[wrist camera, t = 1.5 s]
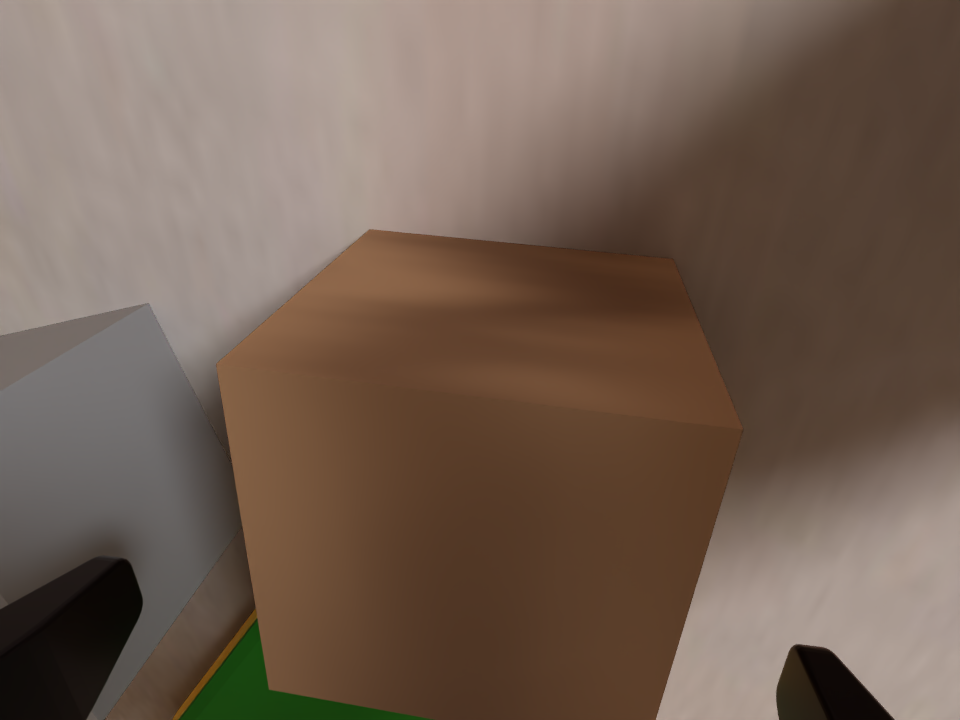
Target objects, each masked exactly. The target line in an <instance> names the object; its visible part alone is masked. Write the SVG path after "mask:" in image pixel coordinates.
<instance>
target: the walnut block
mask: <svg viewBox="0 0 960 720" xmlns="http://www.w3.org/2000/svg"><path fill="white" fill-rule="evenodd" d="M216 367H217V374H218V380H219V386H220V392H221V398H222V404H223V410H224V416H225V423H226V429H227V435H228V441H229V447H230V453H231V459H232V465H233V472H234V478H235V484H236V490H237V496H238V502H239V508H240V515H241V521H242V527H243V533H244V539H245V545H246V551H247V557H248V564H249V570H250V576H251V582H252V588H253V594H254V600H255V606H256V613H257V619H258V625H259V631H260V637H261V643H262V649H263V656H264V662H265V668H266V674H267V680H268V686H269V690H274V691H280V692H285V693H291V694H297V695H302V696H308V697H313V698H319V699H324V700H330V701H335V702H341V703H346V704H352V705H357V706H363V707H368V708H374V709H379V710H385V711H390V712H396V713H401V714H407V715H412V716H418V717H423V718H429V719H434V720H656V717H657V713H658V710H659V707H660V703H661V700H662V697H663V693H664V690H665V687H666V684H667V680H668V677H669V674H670V670H671V667H672V664H673V660H674V657H675V654H676V651H677V647H678V644H679V641H680V637H681V634H682V631H683V627H684V624H685V621H686V617H687V614H688V611H689V608H690V604H691V601H692V598H693V594H694V591H695V588H696V584H697V581H698V578H699V575H700V571H701V568H702V565H703V561H704V558H705V555H706V551H707V548H708V545H709V541H710V538H711V535H712V532H713V528H714V525H715V522H716V518H717V515H718V512H719V508H720V505H721V502H722V499H723V495H724V492H725V489H726V485H727V482H728V479H729V475H730V472H731V469H732V466H733V462H734V459H735V456H736V452H737V449H738V446H739V442H740V439H741V436H742V432H743V428H742V425H741V423H740V420H739V418H738V415H737V413H736V410H735V408H734V406H733V403H732V401H731V398H730V396H729V393H728V391H727V389H726V386H725V384H724V381H723V379H722V376H721V374H720V372H719V369H718V367H717V364H716V362H715V359H714V357H713V355H712V352H711V350H710V347H709V345H708V342H707V340H706V338H705V335H704V333H703V330H702V328H701V325H700V323H699V321H698V318H697V316H696V313H695V311H694V308H693V306H692V304H691V301H690V299H689V296H688V294H687V291H686V289H685V286H684V284H683V282H682V279H681V277H680V274H679V272H678V269H677V267H676V265H675V262H674V260H673V259H668V258H658V257H648V256H637V255H627V254H617V253H607V252H596V251H586V250H576V249H566V248H555V247H545V246H535V245H524V244H514V243H504V242H494V241H483V240H473V239H463V238H453V237H442V236H432V235H422V234H411V233H401V232H391V231H381V230H370V229H369V230H368V231H367V232H366V233H365V234H364V235H363V236H362V237H360V238H359V239H358V240H357V241H356V242H355V243H354V244H352V245H351V246H350V247H349V248H348V249H347V250H346V251H344V252H343V253H342V254H341V255H340V256H339V257H338V258H336V259H335V260H334V261H333V262H332V263H331V264H330V265H328V266H327V267H326V268H325V269H324V270H323V271H322V272H320V273H319V274H318V275H317V276H316V277H315V278H314V279H313V280H311V281H310V282H309V283H308V284H307V285H306V286H305V287H303V288H302V289H301V290H300V291H299V292H298V293H297V294H295V295H294V296H293V297H292V298H291V299H290V300H289V301H287V302H286V303H285V304H284V305H283V306H282V307H281V308H279V309H278V310H277V311H276V312H275V313H274V314H273V315H271V316H270V317H269V318H268V319H267V320H266V321H265V322H263V323H262V324H261V325H260V326H259V327H258V328H257V329H256V330H254V331H253V332H252V333H251V334H250V335H249V336H248V337H246V338H245V339H244V340H243V341H242V342H241V343H240V344H238V345H237V346H236V347H235V348H234V349H233V350H232V351H230V352H229V353H228V354H227V355H226V356H225V357H224V358H222V359H221V360H220V361H219V362H218V363H217V364H216Z"/></svg>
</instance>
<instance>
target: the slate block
mask: <svg viewBox="0 0 960 720" xmlns="http://www.w3.org/2000/svg"><path fill="white" fill-rule="evenodd" d="M241 527H242V521H241V515H240V508H239V502H238V496H237V490H236V484H235V478H234V472H233V467H232V465H231V463H230V461H229V459H228V457H227V455H226V453H225V451H224V449H223V447H222V445H221V443H220V441H219V439H218V438H217V436H216V434H215V432H214V430H213V428H212V426H211V424H210V422H209V420H208V418H207V416H206V414H205V412H204V410H203V408H202V406H201V404H200V402H199V400H198V399H197V397H196V395H195V393H194V391H193V389H192V387H191V385H190V383H189V381H188V379H187V377H186V375H185V373H184V371H183V369H182V367H181V365H180V363H179V361H178V360H177V358H176V356H175V354H174V352H173V350H172V348H171V346H170V344H169V342H168V340H167V338H166V336H165V334H164V332H163V330H162V328H161V326H160V324H159V322H158V321H157V319H156V317H155V315H154V313H153V311H152V309H151V307H150V305H149V303H147V304H142V305H138V306H133V307H129V308H124V309H120V310H115V311H111V312H106V313H102V314H97V315H93V316H88V317H84V318H79V319H75V320H70V321H66V322H61V323H56V324H52V325H47V326H43V327H38V328H34V329H29V330H25V331H20V332H16V333H11V334H7V335H2V336H0V609H1V608H3V607H5V606H7V605H8V604H10V603H12V602H14V601H16V600H17V599H19V598H21V597H23V596H25V595H27V594H28V593H30V592H32V591H34V590H36V589H37V588H39V587H41V586H43V585H45V584H47V583H48V582H50V581H52V580H54V579H56V578H57V577H59V576H61V575H63V574H65V573H67V572H68V571H70V570H72V569H74V568H76V567H77V566H79V565H81V564H83V563H85V562H87V561H88V560H90V559H92V558H94V557H97V556H113V557H121V558H125V559H127V560H128V561H130V563H131V565H132V567H133V570H134V573H135V576H136V578H137V581H138V584H139V587H140V590H141V593H142V596H143V607H142V611H141V614H140V617H139V619H138V621H137V623H136V625H135V627H134V629H133V631H132V633H131V635H130V637H129V639H128V641H127V643H126V644H125V646H124V648H123V650H122V652H121V654H120V656H119V658H118V660H117V662H116V664H115V666H114V668H113V670H112V672H111V674H110V676H109V678H108V680H107V682H106V684H105V686H104V688H103V690H102V692H101V694H100V695H99V697H98V699H97V701H96V703H95V705H94V707H93V709H92V711H91V713H90V714H89V716H88V718H87V720H105V718H106V717H107V715H108V714H109V712H110V711H111V710H112V708H113V707H114V705H115V704H116V703H117V701H118V700H119V698H120V697H121V696H122V694H123V693H124V691H125V690H126V689H127V687H128V686H129V684H130V683H131V682H132V680H133V679H134V677H135V676H136V674H137V673H138V672H139V670H140V669H141V667H142V666H143V665H144V663H145V662H146V660H147V659H148V658H149V656H150V655H151V653H152V652H153V651H154V649H155V648H156V646H157V645H158V644H159V642H160V641H161V639H162V638H163V636H164V635H165V634H166V632H167V631H168V629H169V628H170V627H171V625H172V624H173V622H174V621H175V620H176V618H177V617H178V615H179V614H180V613H181V611H182V610H183V608H184V607H185V606H186V604H187V603H188V601H189V600H190V598H191V597H192V596H193V594H194V593H195V591H196V590H197V589H198V587H199V586H200V584H201V583H202V582H203V580H204V579H205V577H206V576H207V575H208V573H209V572H210V570H211V569H212V568H213V566H214V565H215V563H216V562H217V560H218V559H219V558H220V556H221V555H222V553H223V552H224V551H225V549H226V548H227V546H228V545H229V544H230V542H231V541H232V539H233V538H234V537H235V535H236V534H237V532H238V531H239V530H240V528H241Z"/></svg>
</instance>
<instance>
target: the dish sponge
mask: <svg viewBox="0 0 960 720" xmlns="http://www.w3.org/2000/svg"><path fill="white" fill-rule="evenodd" d="M172 720H434V719H429V718H423V717H418V716H412V715H407V714H401V713H396V712H390V711H385V710H379V709H374V708H368V707H363V706H357V705H352V704H346V703H341V702H335V701H330V700H324V699H319V698H313V697H308V696H302V695H297V694H291V693H285V692H280V691H274V690H269V686H268V680H267V674H266V668H265V662H264V656H263V649H262V643H261V637H260V631H259V625H258V619H257V613H256V608H255V610H254V611H253V612H252V614H251V615H250V616H249V618H248V619H247V620H246V622H245V623H244V624H243V625H242V627H241V628H240V629H239V631H238V632H237V633H236V635H235V636H234V637H233V639H232V640H231V641H230V643H229V644H228V645H227V647H226V648H225V649H224V650H223V652H222V653H221V654H220V656H219V657H218V658H217V660H216V661H215V662H214V664H213V665H212V666H211V668H210V669H209V670H208V671H207V673H206V674H205V675H204V677H203V678H202V679H201V681H200V682H199V683H198V685H197V686H196V687H195V689H194V690H193V691H192V692H191V694H190V695H189V696H188V698H187V699H186V700H185V702H184V703H183V704H182V706H181V707H180V708H179V710H178V711H177V713H176V714H175V716H174V717H173V719H172Z"/></svg>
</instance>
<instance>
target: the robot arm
mask: <svg viewBox="0 0 960 720" xmlns="http://www.w3.org/2000/svg"><path fill="white" fill-rule="evenodd" d="M142 607H143V596H142V593H141V590H140V587H139V584H138V581H137V578H136V576H135V573H134V570H133V567H132V565H131V563H130V561H128V560H127V559H125V558H121V557H113V556H97V557H94V558H92V559H90V560H88V561H87V562H85V563H83V564H81V565H79V566H77V567H76V568H74V569H72V570H70V571H68V572H67V573H65V574H63V575H61V576H59V577H57V578H56V579H54V580H52V581H50V582H48V583H47V584H45V585H43V586H41V587H39V588H37V589H36V590H34V591H32V592H30V593H28V594H27V595H25V596H23V597H21V598H19V599H17V600H16V601H14V602H12V603H10V604H8V605H7V606H5V607H3V608H1V609H0V720H87V718H88V716H89V714H90V713H91V711H92V709H93V707H94V705H95V703H96V701H97V699H98V697H99V695H100V694H101V692H102V690H103V688H104V686H105V684H106V682H107V680H108V678H109V676H110V674H111V672H112V670H113V668H114V666H115V664H116V662H117V660H118V658H119V656H120V654H121V652H122V650H123V648H124V646H125V644H126V643H127V641H128V639H129V637H130V635H131V633H132V631H133V629H134V627H135V625H136V623H137V621H138V619H139V617H140V614H141V611H142ZM776 702H777V710H778V716H779V720H895V719H894V718H893V717H892V716H891V715H890V714H889V713H888V712H887V711H886V710H885V709H884V707H883V706H882V705H881V704H880V703H879V702H878V701H877V700H876V699H875V698H874V696H873V695H872V694H871V693H870V692H869V691H868V690H867V689H866V688H865V687H864V685H863V684H862V683H861V682H860V681H859V680H858V679H857V678H856V677H855V676H854V674H853V673H852V672H851V671H850V670H849V669H848V668H847V667H846V666H845V665H844V664H843V662H842V661H841V660H840V659H839V658H838V657H837V656H836V655H835V654H834V653H833V652H832V651H830V650H829V649H827V648H823V647H817V646H809V645H801V644H796V645H794V646H793V647H791V649H790V651H789V653H788V656H787V659H786V662H785V665H784V667H783V670H782V673H781V676H780V679H779V682H778V685H777V691H776Z"/></svg>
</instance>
